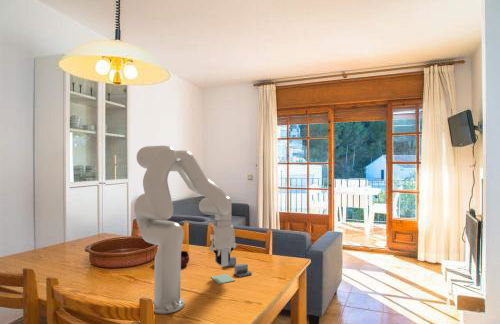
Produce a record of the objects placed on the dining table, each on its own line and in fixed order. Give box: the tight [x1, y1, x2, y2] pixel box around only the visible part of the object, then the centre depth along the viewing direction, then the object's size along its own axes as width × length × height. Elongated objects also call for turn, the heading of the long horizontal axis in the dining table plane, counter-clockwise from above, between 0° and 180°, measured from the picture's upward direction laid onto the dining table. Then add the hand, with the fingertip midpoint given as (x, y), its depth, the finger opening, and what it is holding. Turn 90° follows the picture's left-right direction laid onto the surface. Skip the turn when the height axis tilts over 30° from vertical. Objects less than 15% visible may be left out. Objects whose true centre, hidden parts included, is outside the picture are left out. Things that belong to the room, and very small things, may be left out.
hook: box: [214, 248, 228, 267], centre depth 142 cm, size 8×4×8 cm, turn 30°
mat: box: [210, 273, 236, 285], centre depth 140 cm, size 9×8×1 cm
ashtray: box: [181, 250, 190, 268], centre depth 161 cm, size 18×16×5 cm
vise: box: [224, 256, 253, 278], centre depth 153 cm, size 21×7×4 cm, turn 29°
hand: (223, 262), depth 140 cm, fingers closed on hook, 3 cm apart
